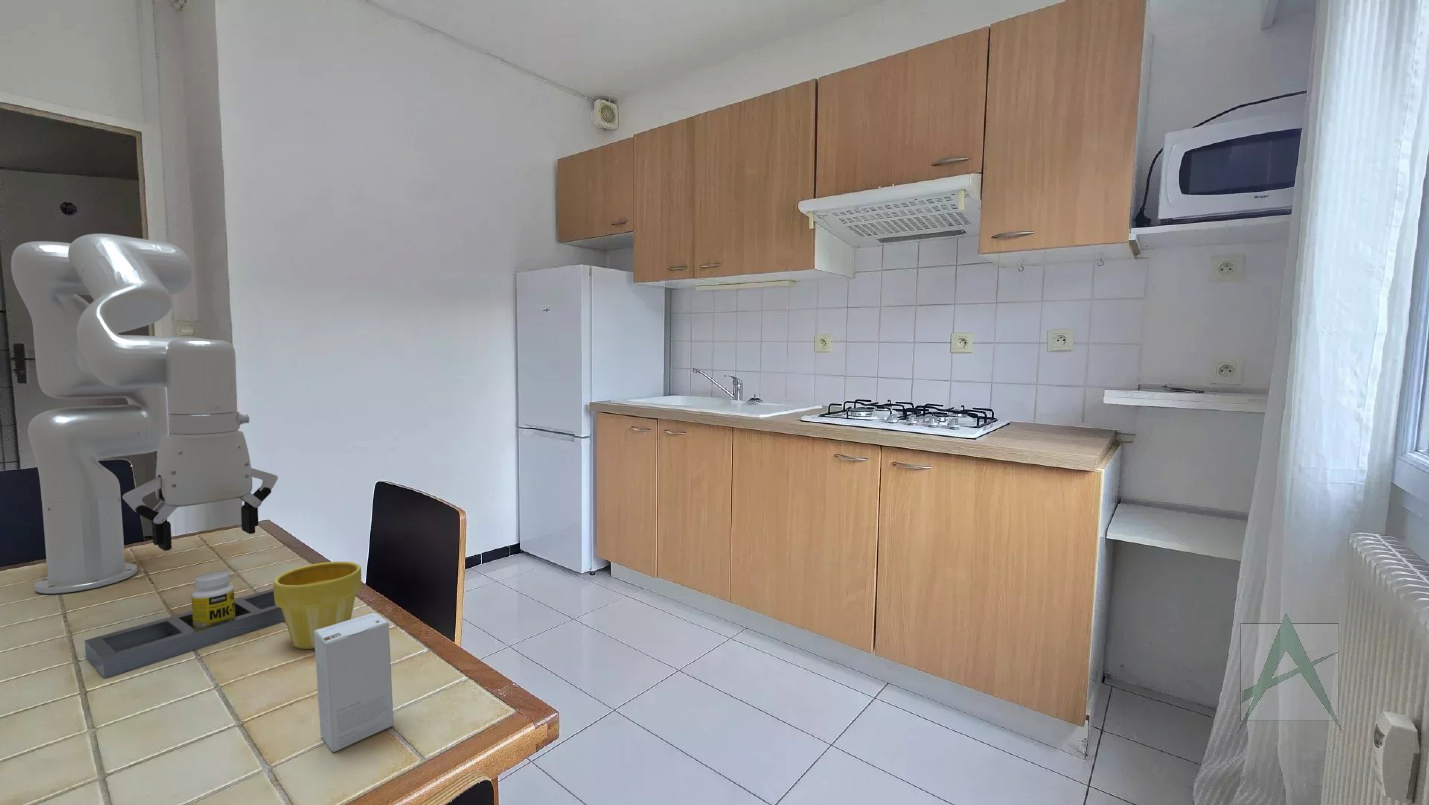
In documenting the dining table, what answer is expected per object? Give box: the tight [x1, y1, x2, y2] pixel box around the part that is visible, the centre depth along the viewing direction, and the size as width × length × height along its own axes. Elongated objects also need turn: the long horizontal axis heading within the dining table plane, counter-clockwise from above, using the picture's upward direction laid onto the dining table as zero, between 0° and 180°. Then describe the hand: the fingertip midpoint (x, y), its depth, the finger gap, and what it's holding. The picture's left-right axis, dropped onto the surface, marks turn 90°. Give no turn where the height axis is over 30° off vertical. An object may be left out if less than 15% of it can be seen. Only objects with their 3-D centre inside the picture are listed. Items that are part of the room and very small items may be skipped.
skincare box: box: [314, 612, 394, 753], centre depth 62 cm, size 6×4×12 cm
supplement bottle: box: [191, 570, 235, 629], centre depth 85 cm, size 5×5×8 cm
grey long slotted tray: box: [83, 587, 285, 679], centre depth 86 cm, size 9×25×2 cm, turn 147°
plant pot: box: [272, 561, 362, 650], centre depth 83 cm, size 10×10×10 cm
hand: (208, 540), depth 85 cm, fingers open, 9 cm apart
